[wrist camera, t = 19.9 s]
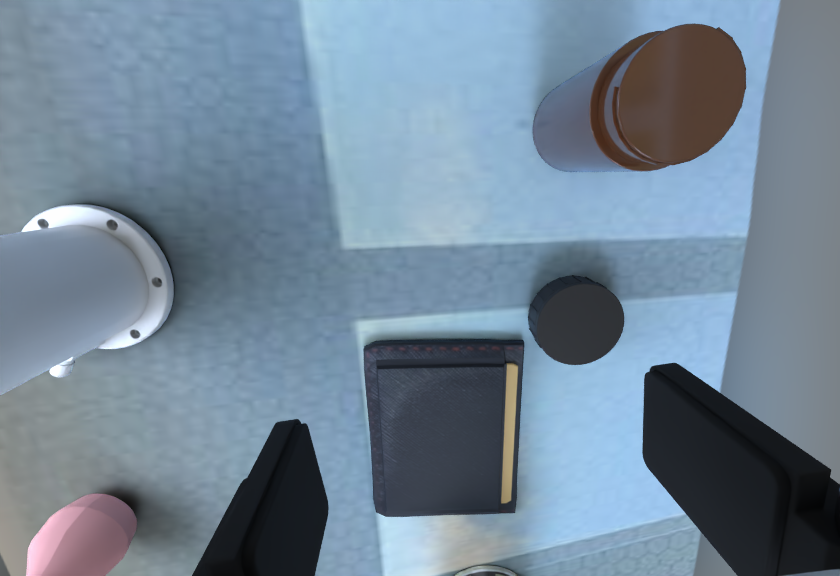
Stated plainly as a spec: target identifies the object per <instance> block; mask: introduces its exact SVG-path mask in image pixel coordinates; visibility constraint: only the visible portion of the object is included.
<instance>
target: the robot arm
mask: <svg viewBox="0 0 840 576" xmlns="http://www.w3.org/2000/svg"><path fill="white" fill-rule="evenodd" d="M173 298H174V283H173V278H172V274H171V269H170V267H169V265H168V262H167V260H166V257H165V255H164V254H163V252H162V251H161V249H160V248H159V246H158V244H157V243H156V242H155V241H154V240H153V239H152V237H151V236H150V235H149V234H148V233H147V232H146V231H145V230H144V229H142V228H141V227H140V226H139V225H138V224H136V223H135V222H134V221H132V220H131V219H129V218H127V217H125V216H124V215H122V214H120V213H118V212H115V211H113V210H110V209H107V208H105V207H100V206H95V205H85V204H74V205H65V206H58V207H55V208H51V209H48V210H45V211H43V212H42V213H40V214H38V215H36V216H35V217H34V218H33V219H32V220H31V221H30V222H29V223H28V224H27V225H25V227H24V228H23V230H22V232H19V233H12V234H5V235H0V395H2V394H4V393H6V392H8V391H10V390H11V389H13V388H15V387H17V386H19V385H21V384H23V383H25V382H26V381H28V380H30V379H32V378H34V377H36V376H38V375H40V374H42V373H43V372H45V371H47V370H49V369H50V374H51V375H53V376H56V377H65V376H68V375H69V374H70V373H71V371H72V368H73V366H74V363H75V359H76V358H78V357H80V356H81V355H83V354H85V353H87V352H89V351H91V350H92V349H94V348H99V349H118V348H124V347H128V346H131V345H134V344H136V343H139V342H141V341H142V340H144V339H146V338H147V337H149V336H151V335H152V334H153V333H154V332H156V331H157V330H158V329H159V328H160V327H161V326H162V324H163V323H164V322H165V320H166V319H167V317H168V315H169V312H170V310H171V308H172V303H173ZM643 459H644V461H645V464H646V466H647V467H648V469H649V470H650V471H651V472H652V473H653V475H654V476H655V477H656V478H657V479H658V481H659V482H660V483H661V484H662V485H663V487H664V488H665V489H666V490H667V491H668V493H669V494H670V495H671V496H672V497H673V499H674V500H675V501H676V502H677V503H678V505H679V506H680V507H681V508H682V509H683V511H684V512H685V513H686V514H687V515H688V517H689V518H690V519H691V520H692V521H693V523H694V524H695V525H696V526H697V527H698V529H699V530H700V531H701V532H702V534H704V536H705V537H706V538H707V539H708V541H709V542H710V543H711V544H712V546H713V547H714V548H715V549H716V550H717V551H718V553H719V554H720V555H721V556H722V558H723V559H724V560H725V561H726V562H727V564H728V565H729V566H730V567H731V568H732V570H733V571H734V572H735V573H736V574H737V575H738V576H840V484H838V483H837V482H835V481H834V480H833V479H831V478H830V474H831V469H829V468H828V467H826V466H825V465H823V464H822V463H821V462H819V461H818V460H816V459H815V458H813V457H812V456H811V455H809V454H808V453H806V452H805V451H803V450H802V449H800V448H799V447H798V446H796V445H795V444H793V443H792V442H790V441H789V440H787V439H786V438H784V437H783V436H781V435H780V434H779V433H777V432H776V431H774V430H773V429H771V428H770V427H769V426H767V425H766V424H764V423H763V422H761V421H760V420H758V419H757V418H755V417H754V416H753V415H751V414H750V413H748V412H747V411H745V410H744V409H742V408H741V407H740V406H738V405H737V404H735V403H734V402H732V401H731V400H729V399H728V398H727V397H725V396H724V395H722V394H721V393H719V392H718V391H716V390H715V389H714V388H712V387H711V386H709V385H708V384H706V383H705V382H703V381H702V380H701V379H699V378H698V377H696V376H695V375H693V374H692V373H690V372H689V371H687V370H686V369H685V368H683V367H682V366H680V365H679V364H677V363H669V364H662V365H656V366H652V367H651V369H650V372H647V373H646V374H645V378H644V415H643ZM327 517H328V500H327V496H326V492H325V488H324V485H323V481H322V477H321V473H320V470H319V466H318V462H317V458H316V455H315V451H314V447H313V443H312V440H311V436H310V432H309V429H308V426H307V424H301V422H300V421H299V420H298V419H294V420H288V421H281V422H277V423H276V424H275V425H274V427H273V429H272V431H271V433H270V435H269V437H268V439H267V441H266V443H265V445H264V447H263V449H262V451H261V452H260V454H259V456H258V458H257V460H256V462H255V464H254V466H253V468H252V470H251V472H250V474H249V476H248V478H246V479H244V480H243V481H242V483H241V484H240V486H239V488H238V490H237V491H236V493H235V495H234V497H233V499H232V501H231V503H230V505H229V507H228V509H227V510H226V512H225V514H224V516H223V518H222V520H221V522H220V524H219V526H218V527H217V529H216V531H215V533H214V535H213V537H212V539H211V541H210V543H209V545H208V546H207V548H206V550H205V552H204V554H203V556H202V558H201V560H200V562H199V563H198V565H197V567H196V569H195V571H194V573H193V575H192V576H315V571H316V567H317V562H318V558H319V553H320V549H321V544H322V540H323V535H324V531H325V526H326V522H327Z"/></svg>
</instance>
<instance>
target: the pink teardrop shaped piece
mask: <svg viewBox="0 0 840 576" xmlns="http://www.w3.org/2000/svg"><path fill="white" fill-rule="evenodd" d="M136 529H137V519H136V516H135V514H134V512H133V510H132V509H131V508H130V507H129V506H128V505H127V504H126V503H125V502H123V501H121V500H120V499H118V498H116V497H114V496H110V495H107V494H94V493H93V494H89V495H86V496H83V497H81V498H79V499H78V500H76V501H74V502H72V503H71V504H69V505H67V506H66V507H64V508H62V509H60V510H59V511H58V512H56V513H55V514H54V515H52V516H51V517H50V518H49V519H48V521H47V522H46V523H45V524H44V526H43V527H42V528H41V529H40V531H39V532H38V533H37V535H36V536H35V537H34V538H33V540H32V541H31V544H30V546H29V548H28V560H27V576H105V575H106V574H107V573H108V572H109V571H110V570H111V569H112V568H113V567H114V566H116V565H117V564H118V563H119V562H120V561H121V560H122V559H123V557H124V555H125V554H126V552H127V550H128V548H129V545H130V543H131V541H132V538H133V536H134V533H135V531H136Z"/></svg>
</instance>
